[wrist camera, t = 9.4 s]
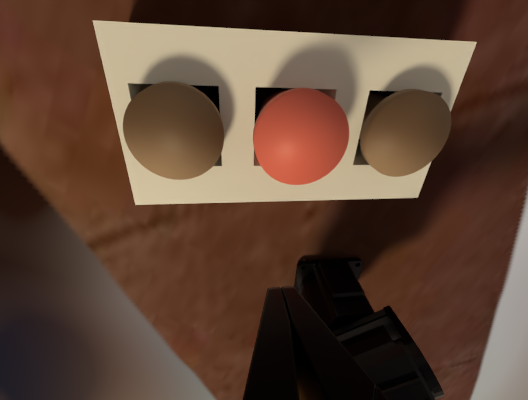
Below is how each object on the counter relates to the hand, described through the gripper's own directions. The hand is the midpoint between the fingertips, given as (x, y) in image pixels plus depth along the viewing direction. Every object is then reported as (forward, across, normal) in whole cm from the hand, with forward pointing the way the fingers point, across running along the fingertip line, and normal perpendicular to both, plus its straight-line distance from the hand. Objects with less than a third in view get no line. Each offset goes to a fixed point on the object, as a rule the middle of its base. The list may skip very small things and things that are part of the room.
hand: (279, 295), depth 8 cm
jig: (+13, -2, -3) cm, 13 cm away
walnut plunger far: (+13, -8, -3) cm, 15 cm away
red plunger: (+12, -2, -3) cm, 12 cm away
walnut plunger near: (+13, +4, -3) cm, 14 cm away
